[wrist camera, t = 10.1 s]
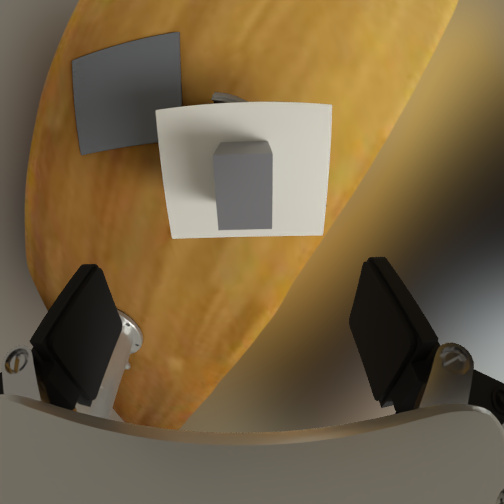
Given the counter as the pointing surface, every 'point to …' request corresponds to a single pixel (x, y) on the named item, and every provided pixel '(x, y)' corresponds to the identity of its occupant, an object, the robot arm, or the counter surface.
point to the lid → (245, 168)
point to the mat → (125, 92)
